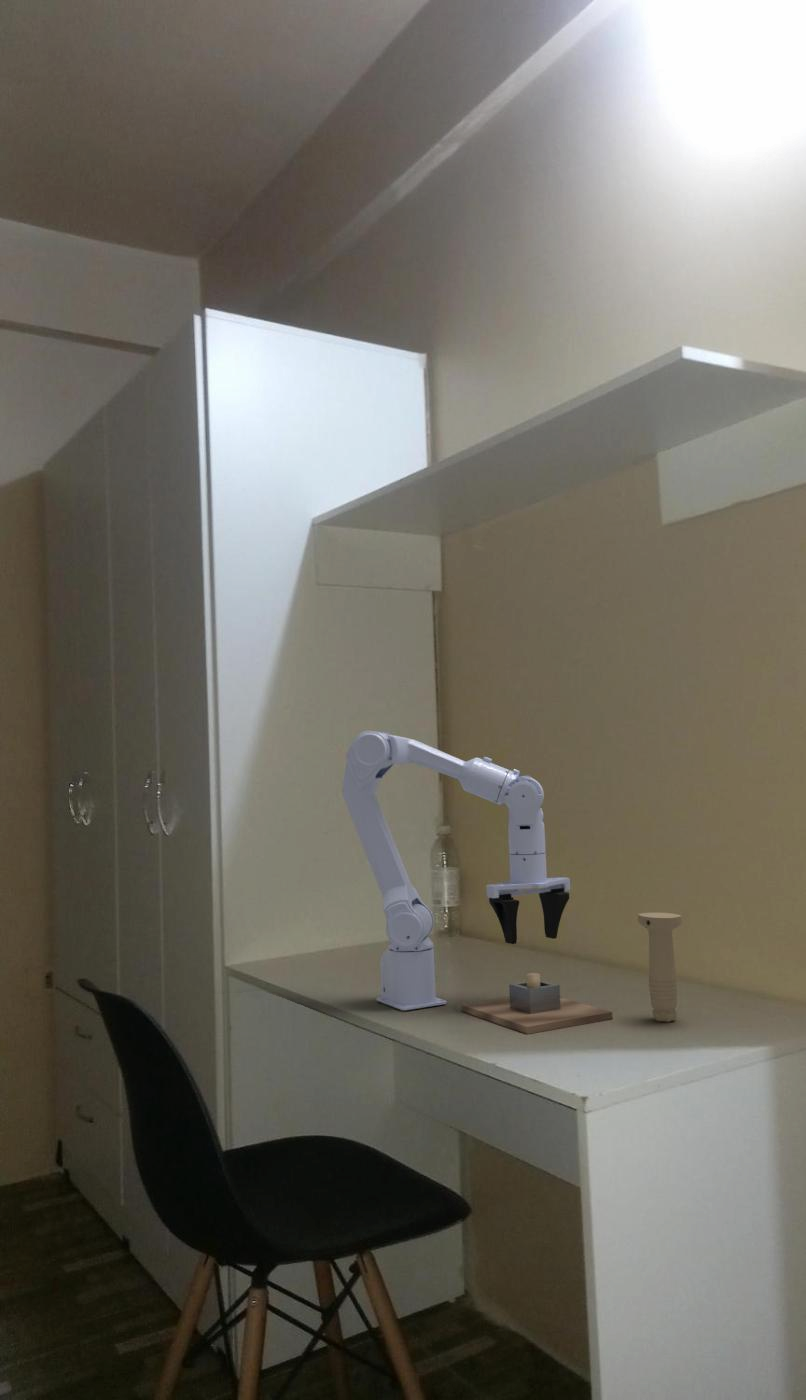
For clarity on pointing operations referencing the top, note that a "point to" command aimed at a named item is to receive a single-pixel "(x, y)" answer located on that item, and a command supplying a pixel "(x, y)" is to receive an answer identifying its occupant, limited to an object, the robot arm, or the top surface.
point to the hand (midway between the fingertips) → (531, 940)
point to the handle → (661, 963)
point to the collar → (534, 997)
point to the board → (536, 1022)
